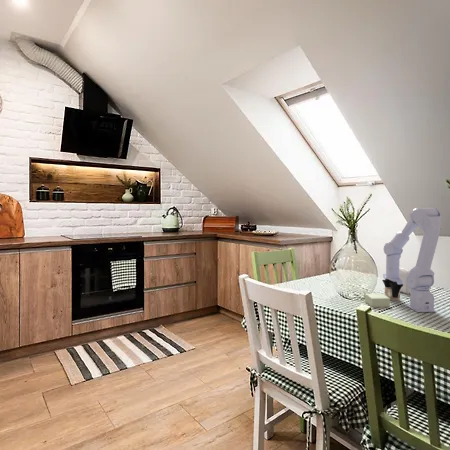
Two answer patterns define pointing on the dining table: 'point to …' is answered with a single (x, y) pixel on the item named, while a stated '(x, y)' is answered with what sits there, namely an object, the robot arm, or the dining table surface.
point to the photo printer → (404, 280)
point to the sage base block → (377, 300)
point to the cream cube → (390, 293)
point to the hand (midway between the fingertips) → (392, 295)
